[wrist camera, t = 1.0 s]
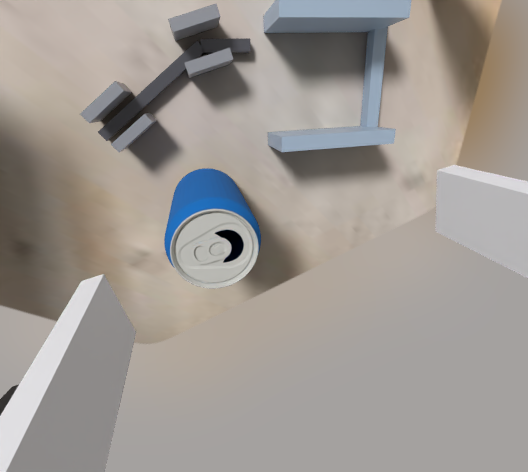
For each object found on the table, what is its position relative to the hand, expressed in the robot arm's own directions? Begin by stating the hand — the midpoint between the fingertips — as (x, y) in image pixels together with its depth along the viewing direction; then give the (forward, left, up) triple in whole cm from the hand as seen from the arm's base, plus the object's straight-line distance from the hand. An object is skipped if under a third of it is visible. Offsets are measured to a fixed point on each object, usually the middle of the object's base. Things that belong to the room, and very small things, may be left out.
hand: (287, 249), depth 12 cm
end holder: (+8, +7, -20) cm, 22 cm away
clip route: (-4, +7, -20) cm, 21 cm away
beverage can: (-3, -3, -20) cm, 20 cm away
